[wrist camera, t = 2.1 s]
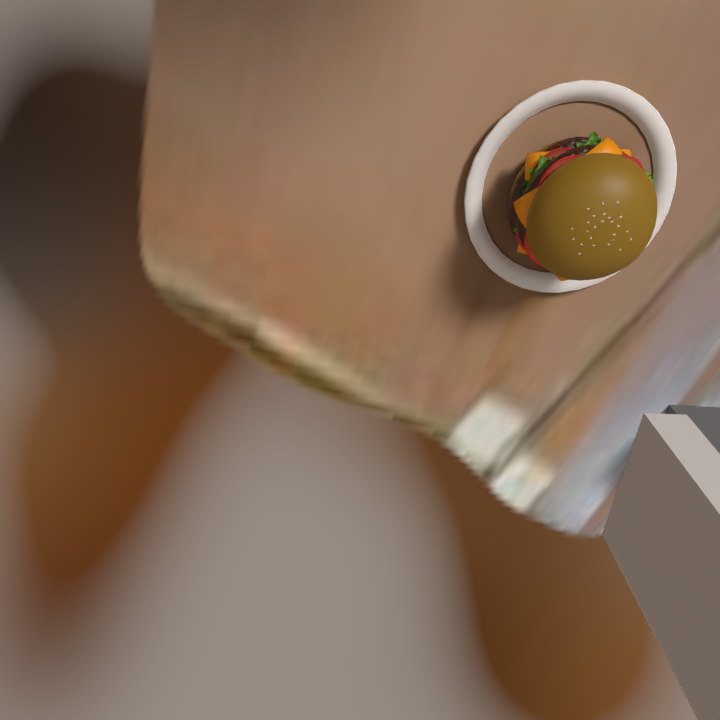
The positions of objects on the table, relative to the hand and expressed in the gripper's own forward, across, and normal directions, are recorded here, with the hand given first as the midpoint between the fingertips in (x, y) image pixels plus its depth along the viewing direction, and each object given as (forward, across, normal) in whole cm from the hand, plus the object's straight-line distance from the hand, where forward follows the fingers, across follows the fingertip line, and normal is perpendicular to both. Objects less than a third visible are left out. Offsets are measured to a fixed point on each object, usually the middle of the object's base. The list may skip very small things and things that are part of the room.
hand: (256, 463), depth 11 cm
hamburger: (+19, +12, 0) cm, 23 cm away
